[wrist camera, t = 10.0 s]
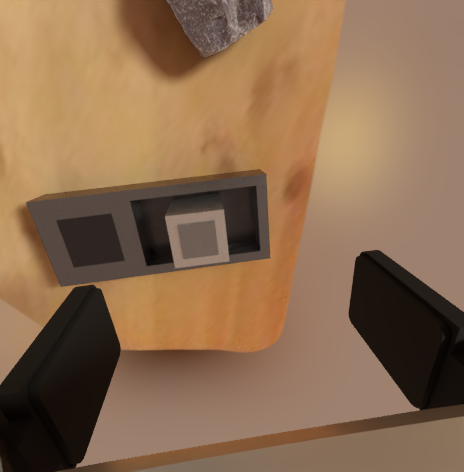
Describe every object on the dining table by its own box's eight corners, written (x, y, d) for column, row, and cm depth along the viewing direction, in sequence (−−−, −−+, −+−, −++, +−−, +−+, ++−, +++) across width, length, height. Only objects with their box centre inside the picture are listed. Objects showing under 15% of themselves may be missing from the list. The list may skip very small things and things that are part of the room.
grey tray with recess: (44, 194, 27) (25, 202, 24) (259, 169, 28) (266, 173, 25) (73, 272, 30) (60, 287, 27) (264, 246, 31) (270, 258, 28)
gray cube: (172, 198, 28) (164, 217, 22) (219, 193, 28) (224, 210, 22) (180, 242, 30) (174, 269, 24) (224, 236, 30) (229, 262, 24)
